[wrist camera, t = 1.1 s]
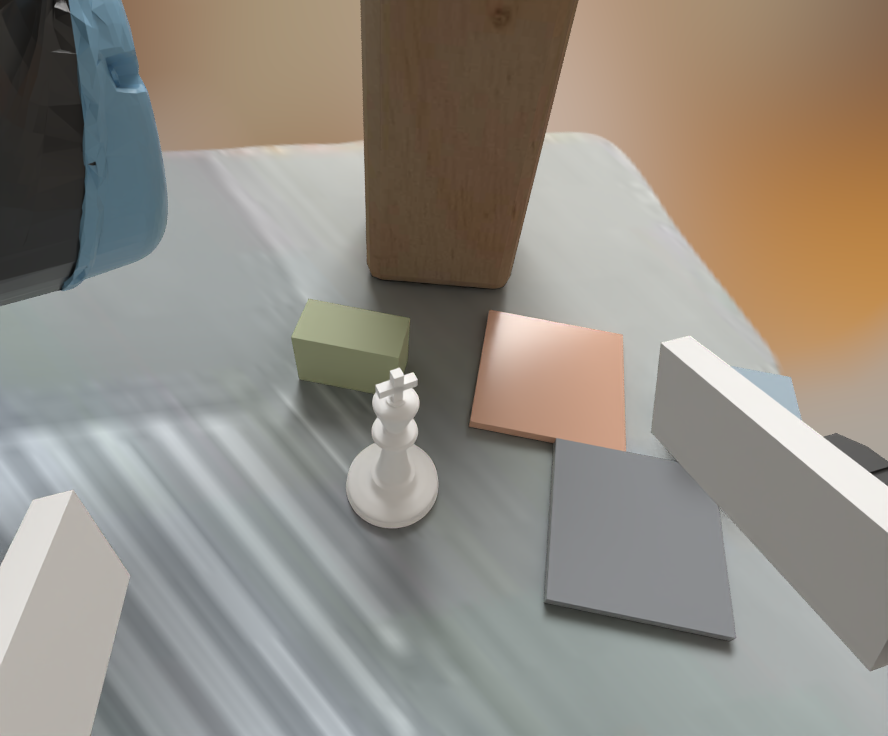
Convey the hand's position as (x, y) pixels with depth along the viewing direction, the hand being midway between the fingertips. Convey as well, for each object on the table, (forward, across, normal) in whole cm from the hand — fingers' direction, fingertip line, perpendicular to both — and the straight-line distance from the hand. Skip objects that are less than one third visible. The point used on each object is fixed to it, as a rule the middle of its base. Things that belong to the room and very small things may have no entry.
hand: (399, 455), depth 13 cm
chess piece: (+13, 0, -13) cm, 18 cm away
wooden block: (+30, +8, -7) cm, 32 cm away
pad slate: (+8, +12, -16) cm, 21 cm away
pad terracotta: (+17, +11, -12) cm, 24 cm away
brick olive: (+20, -1, -10) cm, 23 cm away
